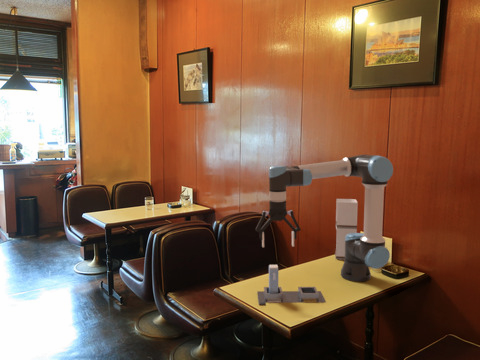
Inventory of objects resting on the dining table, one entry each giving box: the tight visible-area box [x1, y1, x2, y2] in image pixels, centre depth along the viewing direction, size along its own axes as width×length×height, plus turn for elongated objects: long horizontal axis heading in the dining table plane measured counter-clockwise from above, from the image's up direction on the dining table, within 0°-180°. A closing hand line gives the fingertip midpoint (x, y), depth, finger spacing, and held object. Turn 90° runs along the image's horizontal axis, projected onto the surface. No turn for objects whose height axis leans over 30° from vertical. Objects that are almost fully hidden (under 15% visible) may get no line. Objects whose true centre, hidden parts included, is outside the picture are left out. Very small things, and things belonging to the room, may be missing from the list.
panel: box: [257, 286, 327, 306], centre depth 177 cm, size 30×12×4 cm, turn 90°
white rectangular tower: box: [334, 198, 359, 261], centre depth 233 cm, size 11×11×35 cm
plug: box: [268, 264, 279, 293], centre depth 175 cm, size 4×6×15 cm
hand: (278, 246), depth 176 cm, fingers open, 13 cm apart
